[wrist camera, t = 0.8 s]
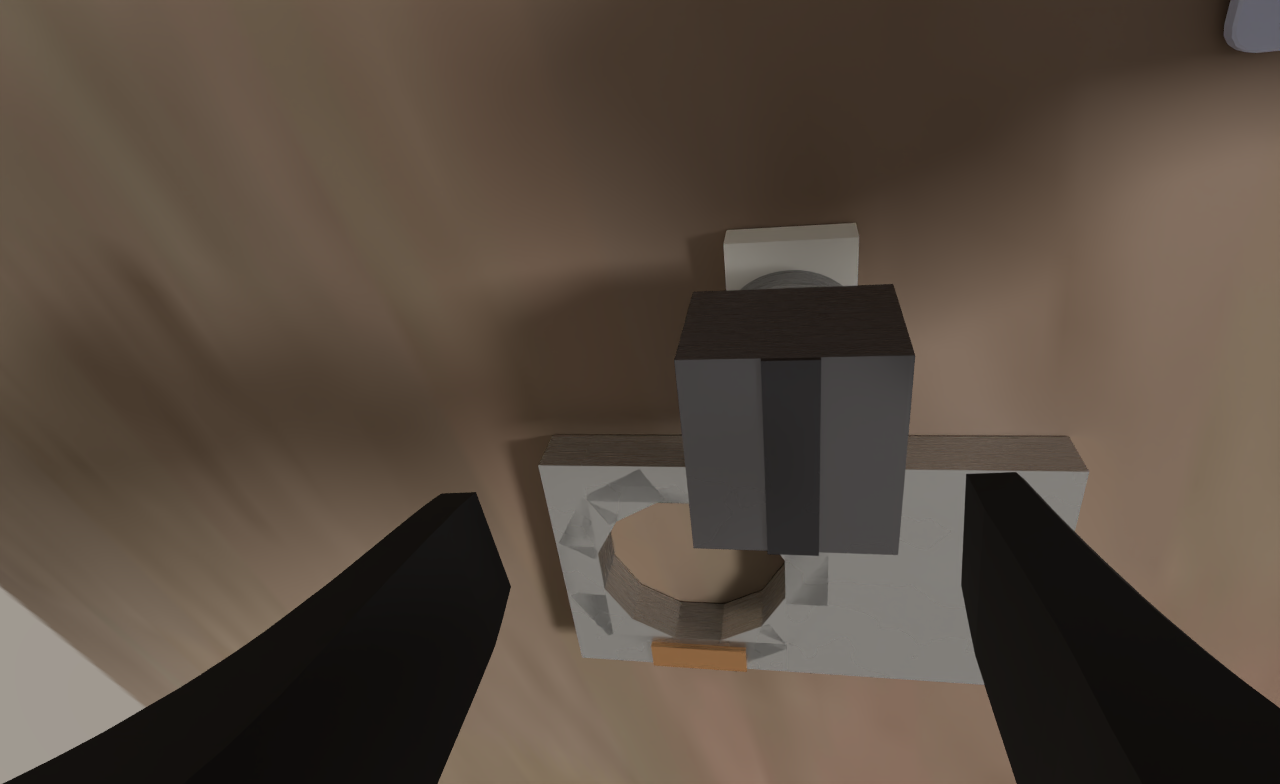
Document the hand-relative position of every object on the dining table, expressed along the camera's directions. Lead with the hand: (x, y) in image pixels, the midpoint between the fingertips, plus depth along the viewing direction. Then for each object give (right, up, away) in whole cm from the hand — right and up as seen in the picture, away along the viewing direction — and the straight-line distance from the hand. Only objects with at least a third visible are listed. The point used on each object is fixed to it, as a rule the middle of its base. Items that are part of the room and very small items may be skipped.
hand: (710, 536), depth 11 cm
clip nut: (+3, +3, +7) cm, 8 cm away
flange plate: (+4, -3, +11) cm, 12 cm away
